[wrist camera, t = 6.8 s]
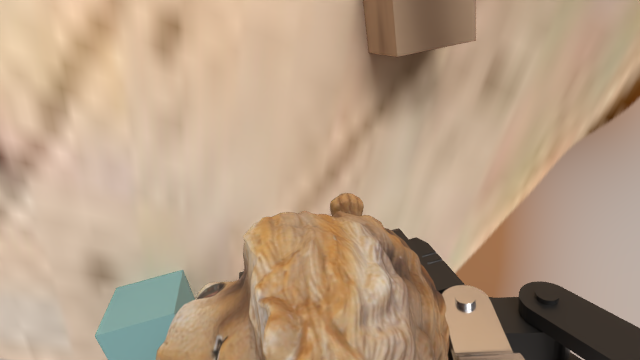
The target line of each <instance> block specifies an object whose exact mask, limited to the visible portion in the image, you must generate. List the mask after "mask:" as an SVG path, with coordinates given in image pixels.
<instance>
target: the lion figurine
mask: <svg viewBox="0 0 640 360" xmlns="http://www.w3.org/2000/svg"><path fill="white" fill-rule="evenodd" d="M330 211H331V215H332V216H330V215H326V214H319V215H317V214H312V213H310V212H307V211H303V212H301V213H299V214H296V213H292V212H286V213H280V214H278V215H275V216H273V217H264V218H262V219H261V221H260V222H257V223H255V224H254V225H253V226H252V227H251V228H250V229H249V230H248V232H247V233H246V234H245V235H244V236H243V238H244V241H245V243H244V249H243V257H244V274H243V275H242V276H241V278H240V279H239V280H237V281H234V282H220V283H219V282H212V283H209V284H206V285H205V286H204V287H203V288H202V289H201V290H200V292H199V294H198V296H197V299H196V300H192V301H190V302H188V303H186V304H184V305H183V306H182V307H181V308H180V309H179V311H178V312H177V313H176V315H175V316H174V318H173V320H172V322H171V324H170V327H169V330H168V333H167V336H166V339H165V341H164V342H163V344H162V345H161V346H160V347H159V348H158V350H157V354H156V360H448V350H449V335H450V331H449V326H448V324H447V321H446V317H445V313H446V304H445V300H444V298H443V296H442V294H441V293H440V292H438V291H437V290H436V288H435V285H434V282H433V280H432V279H431V277H430V276H429V274H428V272H427V271H426V269H425V268H424V267H423V266H422V265H421V264H420V260H419V257H418V255H417V254H416V253H415V252H414V251H413V250H411V249H410V248H409V246H408V245H407V244H406V242H405V241H404V240H403V239H401V238H400V237H399V236H398V235H396V234H395V233H394V232H393V231H391V230H389V229H386V228H384V227H383V225H382V223H381V222H380V221H378V220H376V219H375V218H373V217H371V216H367V215H363V216H362V212H363V202H362V200H361V199H360V198H359V197H357V196H355V195H353V194H349V193H344V194H340V195H339V196H338V197H336V198H335V199H333V200H332V201H331V203H330Z"/></svg>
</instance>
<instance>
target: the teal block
mask: <svg viewBox="0 0 640 360" xmlns="http://www.w3.org/2000/svg"><path fill="white" fill-rule="evenodd" d="M192 300H195V299H194V296H193V294H192V291H191V289H190V286H189V284H188V281H187V279H186V276H185V274H184V271H183V270H180V271H177V272H173V273H169V274H166V275H162V276H158V277H155V278H151V279H147V280H144V281H140V282H136V283H133V284H129V285H126V286H122V287H118V288H116V290H115V292H114V295H113V297H112V299H111V301H110V303H109V306H108V308H107V310H106V312H105V314H104V317H103V319H102V321H101V323H100V325H99V328H98V330H97V332H96V334H95V337H96V339H97V341H98V343H99V344H100V346H101V348H102V350H103V352H104V353H105V355H106V357H107V359H108V360H156V354H157V350H158V348H159V347H160V346H161V345H162V344H163V342H164V341H165V339H166V336H167V333H168V330H169V327H170V324H171V322H172V320H173V318H174V316H175V315H176V313H177V312H178V311H179V309H180V308H181V307H182V306H183V305H184V304H186V303H188V302H190V301H192Z"/></svg>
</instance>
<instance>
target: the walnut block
mask: <svg viewBox="0 0 640 360" xmlns="http://www.w3.org/2000/svg"><path fill="white" fill-rule="evenodd" d="M363 6H364V15H365V24H366V33H367V41H368V50H369V53H374V54H381V55H388V56H395V57H399V56H404V55H409V54H413V53H418V52H423V51H428V50H433V49H437V48H442V47H447V46H452V45H456V44H461V43H466V42H471V41H476V0H363Z"/></svg>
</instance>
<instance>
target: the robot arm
mask: <svg viewBox="0 0 640 360" xmlns="http://www.w3.org/2000/svg"><path fill="white" fill-rule="evenodd" d="M391 231H393V232H394V233H395V234H396V235H398V236H399V237H400V238H401V239H403V240H404V241H405V242H406V244H407V245H408V246H409V248H410V249H411V250H413V251H414V252H415V253H416V254H417V255H418V257H419V260H420V264H421V265H422V266H423V267H424V268H425V269H426V271H427V272H428V274H429V276H430V277H431V279H432V280H433V282H434V285H435V288H436V290H437V291H438V292H440V293H441V294H442V296H443V298H444V300H445V304H446V313H445V317H446V321H447V324H448V326H449V331H450V335H449V350H448V360H581V359H580V358H578V357H577V356H575V355H574V354H572V353H571V352H570V350H572V351H573V352H574V353H576V354H577V355H579V356H580V357H582V358H583V359H585V360H640V328H638V327H636V326H634V325H633V324H631V323H629V322H627V321H625V320H623V319H621V318H619V317H617V316H615V315H614V314H612V313H610V312H608V311H606V310H604V309H602V308H600V307H598V306H596V305H595V304H593V303H591V302H589V301H587V300H585V299H583V298H581V297H579V296H578V295H575V294H574V293H572V292H570V291H568V290H566V289H564V288H562V287H560V286H558V285H555V284H552V283H547V282H531V283H528V284H526V285H524V286H523V287H522V288H521V289H520V292H519V297H507V298H492V297H488V296H487V295H486V294H485V293H484V292H483V291H481V290H480V289H477V288H475V287H472V286H467V285H464V283H463V282H462V281H461V280H460V279H459V278H458V277H457V275H456V274H455V273H454V272H453V271H452V270H451V269H450V268H449V266H448V265H447V264H446V263H445V262H444V261H442V259H441V257H440V256H439V255H438V254H436V252H435V251H434V250H433V248H432V247H431V246H430V245H429V244H428V243H426V242H424V241H422V240H420V239H418V238H412V239H409V240H408V238H407V237H406V236H405V235H404V234H403V232H402V231H401V230H400V229H399V228H398V229H394V230H391ZM243 274H244V271H243V272H240V273H239V279H240V278H241V276H242V275H243Z"/></svg>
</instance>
